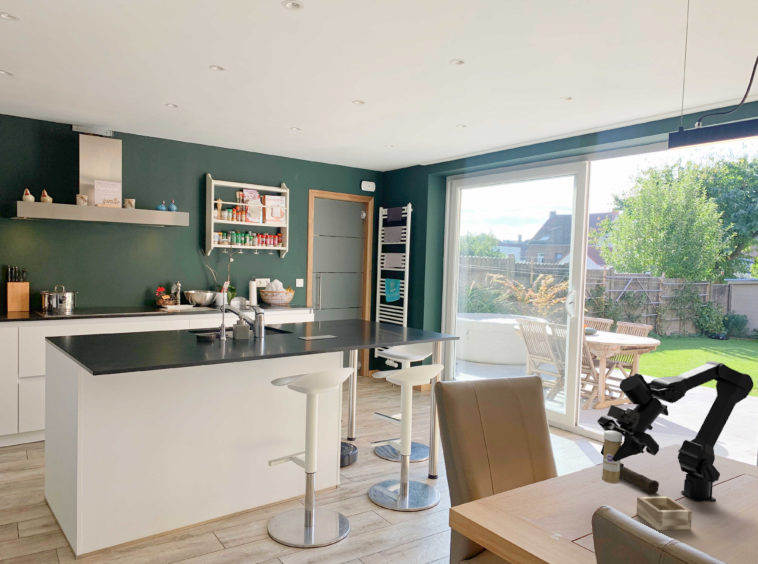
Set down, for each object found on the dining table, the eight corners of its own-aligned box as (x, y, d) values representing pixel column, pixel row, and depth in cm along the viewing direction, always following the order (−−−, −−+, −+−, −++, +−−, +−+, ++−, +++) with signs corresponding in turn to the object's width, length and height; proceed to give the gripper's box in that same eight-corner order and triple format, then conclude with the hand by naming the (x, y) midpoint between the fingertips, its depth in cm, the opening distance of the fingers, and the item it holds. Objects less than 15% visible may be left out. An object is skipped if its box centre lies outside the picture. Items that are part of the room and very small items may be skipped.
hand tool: (659, 494, 161) (660, 478, 160) (648, 495, 159) (649, 479, 159) (613, 470, 179) (614, 456, 179) (603, 471, 177) (604, 457, 177)
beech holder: (667, 513, 147) (668, 496, 147) (690, 529, 138) (692, 511, 138) (636, 513, 146) (637, 497, 146) (658, 529, 137) (659, 512, 137)
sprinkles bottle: (601, 482, 149) (604, 433, 149) (601, 476, 154) (604, 428, 153) (620, 485, 148) (622, 435, 147) (619, 479, 152) (621, 431, 151)
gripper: (604, 388, 160) (569, 427, 157) (652, 404, 142) (614, 449, 139) (625, 414, 162) (592, 453, 160) (675, 433, 144) (638, 477, 142)
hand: (607, 457), depth 150 cm, fingers closed on sprinkles bottle, 4 cm apart
